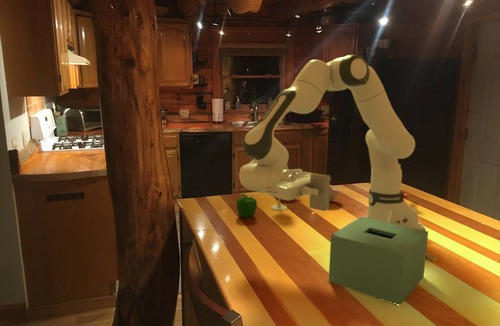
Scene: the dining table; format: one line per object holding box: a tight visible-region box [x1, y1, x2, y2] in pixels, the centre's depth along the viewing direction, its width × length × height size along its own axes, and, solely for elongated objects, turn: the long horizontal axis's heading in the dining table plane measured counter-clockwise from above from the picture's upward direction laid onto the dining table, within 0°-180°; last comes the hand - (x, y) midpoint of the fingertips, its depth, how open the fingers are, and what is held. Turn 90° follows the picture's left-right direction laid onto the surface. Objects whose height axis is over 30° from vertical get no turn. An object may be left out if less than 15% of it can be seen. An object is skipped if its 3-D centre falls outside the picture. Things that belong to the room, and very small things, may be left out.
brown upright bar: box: [309, 172, 331, 212], centre depth 117 cm, size 5×2×10 cm, turn 51°
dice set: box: [426, 252, 437, 262], centre depth 131 cm, size 5×5×2 cm
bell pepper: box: [236, 193, 258, 219], centre depth 168 cm, size 8×8×10 cm
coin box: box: [328, 216, 429, 306], centre depth 114 cm, size 20×20×14 cm
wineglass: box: [270, 164, 289, 211], centre depth 179 cm, size 8×8×21 cm
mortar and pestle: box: [329, 177, 340, 203], centre depth 190 cm, size 12×12×11 cm
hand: (322, 190), depth 117 cm, fingers closed on brown upright bar, 2 cm apart
